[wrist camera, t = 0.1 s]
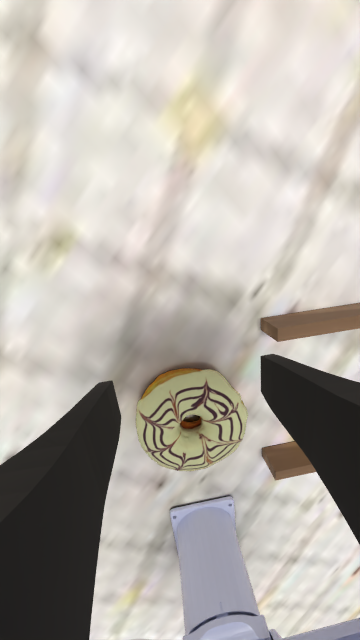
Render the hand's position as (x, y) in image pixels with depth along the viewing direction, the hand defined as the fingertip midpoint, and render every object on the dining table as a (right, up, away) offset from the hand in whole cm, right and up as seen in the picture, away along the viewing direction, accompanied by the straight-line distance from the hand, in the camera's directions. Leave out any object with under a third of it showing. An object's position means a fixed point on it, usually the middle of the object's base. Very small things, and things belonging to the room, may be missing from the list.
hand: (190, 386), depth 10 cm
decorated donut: (0, -6, +13) cm, 14 cm away
